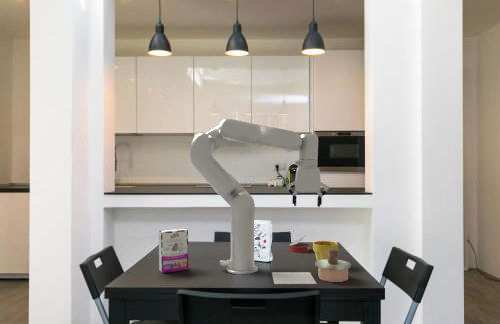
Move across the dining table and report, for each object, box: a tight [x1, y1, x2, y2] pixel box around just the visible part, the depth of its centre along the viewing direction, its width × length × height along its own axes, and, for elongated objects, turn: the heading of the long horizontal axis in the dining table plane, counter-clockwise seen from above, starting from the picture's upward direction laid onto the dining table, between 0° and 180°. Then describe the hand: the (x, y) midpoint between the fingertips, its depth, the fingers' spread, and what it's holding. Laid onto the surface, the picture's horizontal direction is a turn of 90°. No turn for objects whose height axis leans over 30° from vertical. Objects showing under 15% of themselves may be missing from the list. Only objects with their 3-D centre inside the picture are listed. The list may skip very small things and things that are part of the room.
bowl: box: [317, 267, 349, 283], centre depth 146 cm, size 10×10×5 cm
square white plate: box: [271, 271, 318, 285], centre depth 145 cm, size 15×15×1 cm
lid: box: [314, 249, 352, 270], centre depth 146 cm, size 13×13×6 cm
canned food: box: [288, 234, 310, 254], centre depth 195 cm, size 11×10×10 cm
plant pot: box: [312, 240, 339, 261], centre depth 165 cm, size 10×10×10 cm
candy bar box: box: [158, 228, 189, 274], centre depth 158 cm, size 11×5×16 cm, turn 117°
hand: (306, 206), depth 159 cm, fingers open, 9 cm apart
